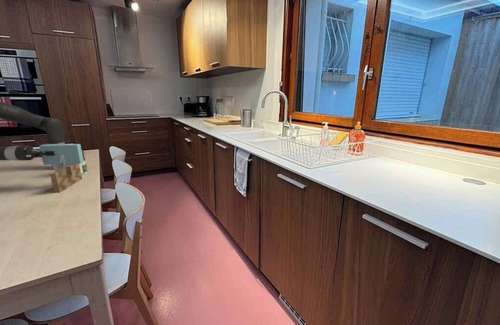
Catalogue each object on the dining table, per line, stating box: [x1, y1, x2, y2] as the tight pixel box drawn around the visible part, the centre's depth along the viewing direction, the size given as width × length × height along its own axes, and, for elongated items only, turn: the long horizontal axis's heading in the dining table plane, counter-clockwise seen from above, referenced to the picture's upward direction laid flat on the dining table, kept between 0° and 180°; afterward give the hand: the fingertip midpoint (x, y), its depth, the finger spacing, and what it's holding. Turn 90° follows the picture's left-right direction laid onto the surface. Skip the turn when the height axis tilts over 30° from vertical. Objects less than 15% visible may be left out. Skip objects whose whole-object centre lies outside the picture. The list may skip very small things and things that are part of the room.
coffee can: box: [64, 149, 88, 176], centre depth 147 cm, size 10×10×14 cm
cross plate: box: [38, 143, 84, 166], centre depth 125 cm, size 3×18×10 cm, turn 96°
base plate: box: [49, 164, 83, 193], centre depth 128 cm, size 20×2×10 cm, turn 6°
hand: (56, 152), depth 124 cm, fingers closed on cross plate, 3 cm apart
